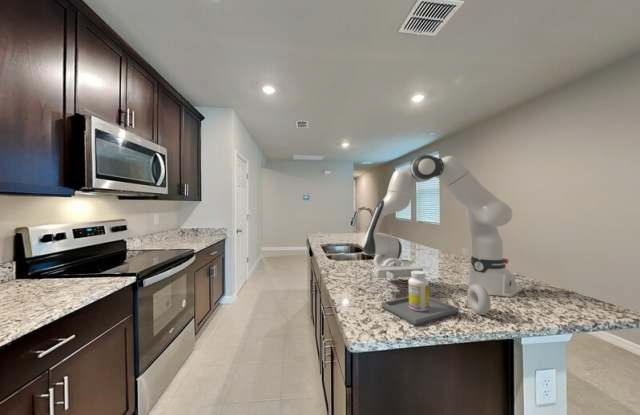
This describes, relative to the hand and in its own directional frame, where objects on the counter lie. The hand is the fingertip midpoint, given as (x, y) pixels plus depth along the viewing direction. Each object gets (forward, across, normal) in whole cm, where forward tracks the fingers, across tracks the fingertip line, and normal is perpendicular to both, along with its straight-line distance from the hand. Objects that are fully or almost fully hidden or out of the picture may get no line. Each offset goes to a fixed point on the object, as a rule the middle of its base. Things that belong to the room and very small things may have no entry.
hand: (405, 276), depth 99 cm
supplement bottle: (+10, 0, +9) cm, 13 cm away
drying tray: (+10, 0, +9) cm, 14 cm away
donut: (+15, +19, +10) cm, 26 cm away
